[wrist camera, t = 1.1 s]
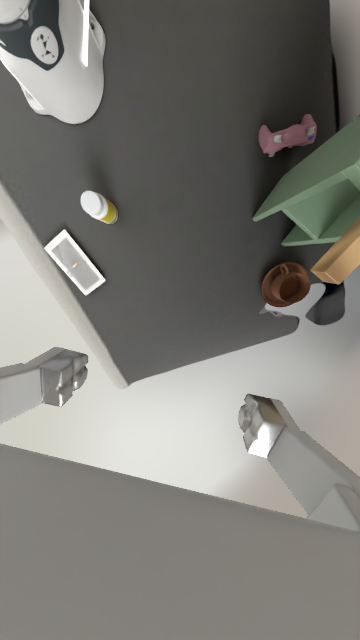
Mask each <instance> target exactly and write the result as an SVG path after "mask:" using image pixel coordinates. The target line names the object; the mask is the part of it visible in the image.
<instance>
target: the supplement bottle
mask: <svg viewBox="0 0 360 640" xmlns="http://www.w3.org/2000/svg"><path fill="white" fill-rule="evenodd" d="M81 205H82V207H83V209H84V210H85V211H86V212H87V213H89V214H90V215H91V216H92V217H93V218H95V219H98V220H100V221H103V222H105V223H108V224H111V223H114V222H115V221H116V220H117V218H118V210H117V208H116V206H115V205H114V204H113V203H112V202H110V201H109V200H108V199H106V198H105V197H104V196H102V195H101V194H99V193H95V192H93V191H85V192H84V193H83V194H82V196H81Z"/></svg>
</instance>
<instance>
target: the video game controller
mask: <svg viewBox="0 0 360 640" xmlns="http://www.w3.org/2000/svg"><path fill="white" fill-rule="evenodd" d="M316 130H317V126H316V123H315V122H314V120H313V118H312V116H311V115H310V114H306V115H305V116H304V117H303V119H302V121H301V124H296V125H293V126H291V127H289V128H287V129H285V130H281V131H278V132H275V133H271V132H270V131H269V130H268V128H267V126H266V125H262V126H261V128H260V130H259V134H258V138H259V144H260V147H261V148H262V150H263V153H269V154H270V155H268V156H269V157H273V156H274V155H275V154H274V153H275V152H277V151H279V150H282V148H283V147H288V148H292V146H304V145H307V144H311V143H313V142H314V140H315V136H316Z"/></svg>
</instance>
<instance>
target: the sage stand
mask: <svg viewBox="0 0 360 640" xmlns="http://www.w3.org/2000/svg"><path fill="white" fill-rule="evenodd" d="M280 210H282V211H283V212H284V213H285V214H286V215H287V216H288V217H289V218H290V219H292V220H293V221H294V222H295V223H296V226H295V227H294V228H293V229H292V230H291V232H290V233H289V234H288V235H287V237H286V238H285V239H284V240H283V241H282V243H281V244H282V245H283V246H294V245H306V244H318V243H329V242H337V241H338V240H339V239H340V238H341V237H342V236H343V235H344V234H345V233H346V231H347V230H348V229H349V228H350V227H351V226H352V225H353V224H354V223H355V222H356V221H357V220H358V219H359V218H360V115H359V116H358V117H356V118H355V119H354V120H353V121H351V122H350V123H349V124H348V125H346V126H345V127H344V128H343V129H341V130H340V131H339V132H338V133H336V134H335V135H334V136H332V137H331V138H330V139H329V140H327V141H326V142H325V143H324V144H322V145H321V146H320V147H319V148H317V149H316V150H315V151H314V152H312V153H311V154H310V155H309V156H307V157H306V158H305V159H304V160H302V161H301V162H300V163H299V164H297V165H296V166H295V167H294V168H292V169H291V170H290V171H289V172H287V173H286V174H285V175H284V176H283V177H282V178H281V179H280V181H279V182H278V183H277V185H276V186H275V188H274V189H273V190H272V192H271V193H270V194H269V196H268V197H267V199H266V200H265V201H264V203H263V204H262V206H261V207H260V208H259V210H258V211H257V212H256V214H255V215H254V217H253V218H252V219H253V220H254V221H255V222H256V221H258V220H260V219H263V218H265V217H267V216H269V215H271V214H273V213H275V212H278V211H280Z"/></svg>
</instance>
